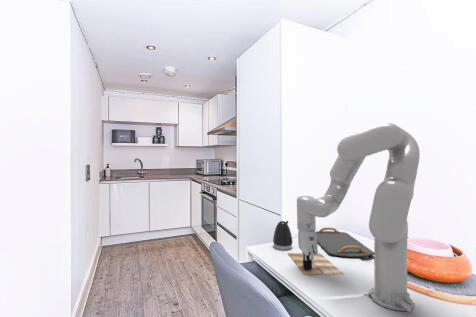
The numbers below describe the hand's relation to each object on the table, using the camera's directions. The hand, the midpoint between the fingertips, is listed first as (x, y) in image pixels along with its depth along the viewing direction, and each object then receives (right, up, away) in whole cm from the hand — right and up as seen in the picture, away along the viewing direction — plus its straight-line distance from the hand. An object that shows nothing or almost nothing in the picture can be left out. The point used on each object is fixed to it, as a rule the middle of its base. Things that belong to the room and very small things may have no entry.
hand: (307, 268), depth 102 cm
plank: (+1, -2, +7) cm, 8 cm away
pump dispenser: (-5, -2, +27) cm, 28 cm away
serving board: (+26, -2, +31) cm, 41 cm away
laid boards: (+9, -2, +8) cm, 12 cm away
